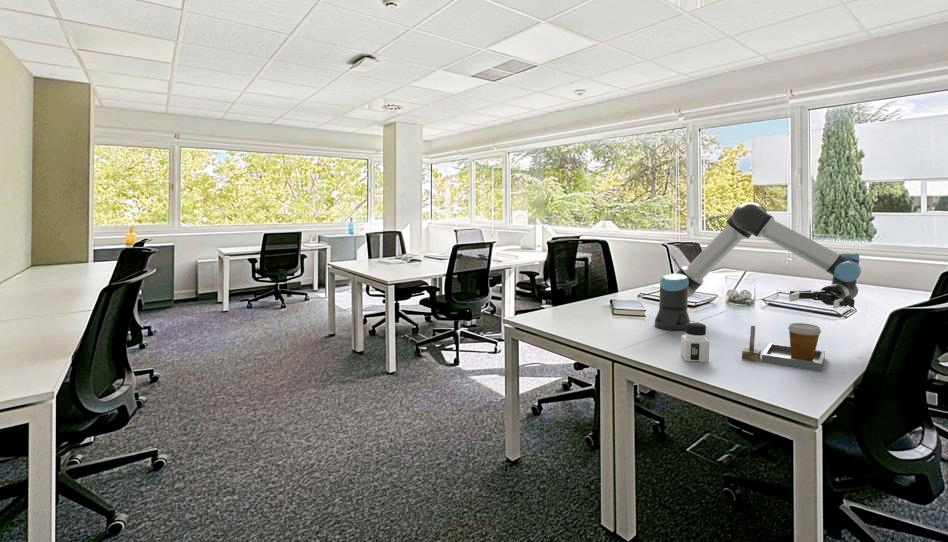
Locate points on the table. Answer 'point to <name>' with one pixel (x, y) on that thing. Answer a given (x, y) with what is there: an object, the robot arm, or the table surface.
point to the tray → (783, 357)
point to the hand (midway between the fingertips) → (812, 301)
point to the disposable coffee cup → (803, 340)
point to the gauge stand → (751, 348)
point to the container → (695, 343)
